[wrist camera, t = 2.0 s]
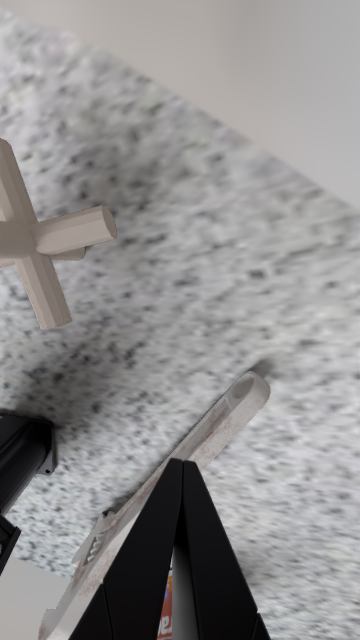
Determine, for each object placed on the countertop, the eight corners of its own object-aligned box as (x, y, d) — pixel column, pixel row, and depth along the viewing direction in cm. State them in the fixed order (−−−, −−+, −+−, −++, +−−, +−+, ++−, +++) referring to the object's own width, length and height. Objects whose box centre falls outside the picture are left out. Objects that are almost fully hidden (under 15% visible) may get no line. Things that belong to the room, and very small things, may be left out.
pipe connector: (40, 320, 19) (-114, 377, 10) (-7, 198, 17) (-275, 110, 7) (149, 296, 18) (100, 333, 8) (114, 162, 16) (-8, 2, 6)
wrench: (252, 366, 22) (83, 552, 26) (239, 355, 22) (70, 545, 26) (294, 411, 14) (42, 672, 18) (274, 395, 14) (23, 662, 18)
